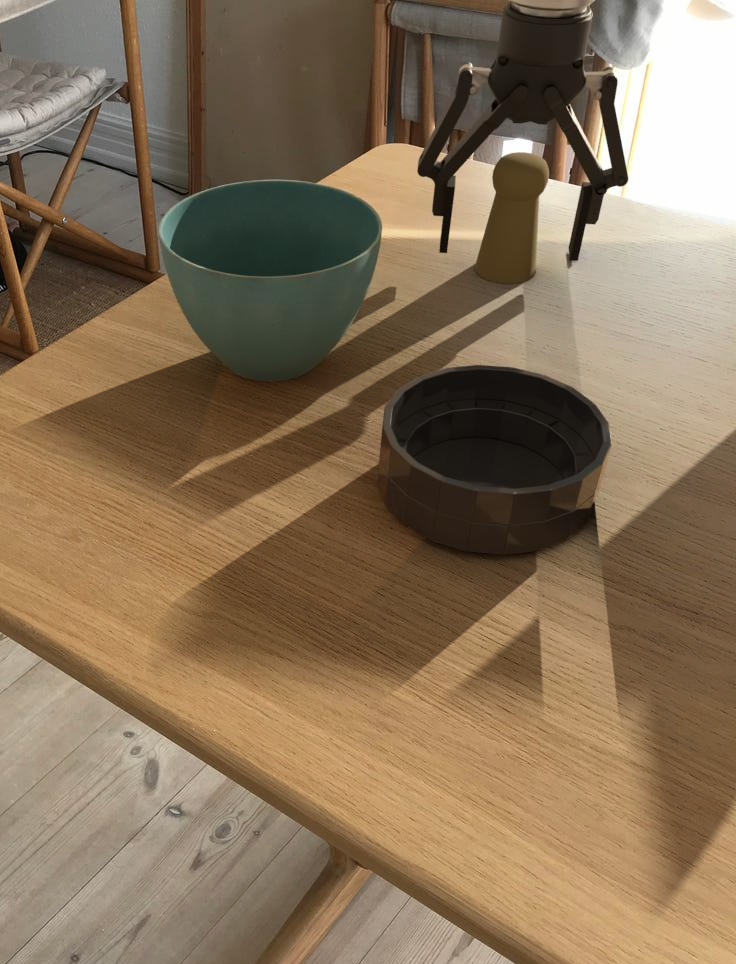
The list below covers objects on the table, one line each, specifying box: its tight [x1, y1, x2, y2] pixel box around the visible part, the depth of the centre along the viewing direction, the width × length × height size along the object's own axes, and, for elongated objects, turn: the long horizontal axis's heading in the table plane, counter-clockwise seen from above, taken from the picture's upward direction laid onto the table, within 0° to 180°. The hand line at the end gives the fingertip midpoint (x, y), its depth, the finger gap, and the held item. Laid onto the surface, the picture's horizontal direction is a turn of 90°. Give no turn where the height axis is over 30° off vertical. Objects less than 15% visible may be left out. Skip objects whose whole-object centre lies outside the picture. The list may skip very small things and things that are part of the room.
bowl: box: [376, 364, 613, 556], centre depth 77 cm, size 16×16×6 cm
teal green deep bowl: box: [158, 179, 383, 383], centre depth 89 cm, size 18×18×12 cm
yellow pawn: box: [474, 151, 550, 285], centre depth 101 cm, size 6×6×11 cm
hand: (507, 250), depth 103 cm, fingers open, 12 cm apart
